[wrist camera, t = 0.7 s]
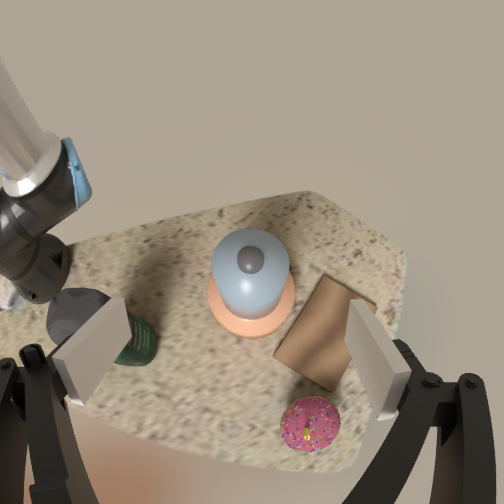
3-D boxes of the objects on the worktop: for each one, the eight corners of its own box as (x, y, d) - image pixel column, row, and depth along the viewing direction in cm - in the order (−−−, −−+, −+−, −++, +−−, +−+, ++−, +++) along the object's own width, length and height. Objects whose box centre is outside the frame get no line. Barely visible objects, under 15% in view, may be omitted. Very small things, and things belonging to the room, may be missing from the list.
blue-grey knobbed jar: (208, 297, 42) (194, 267, 32) (243, 251, 45) (240, 210, 35) (259, 331, 39) (261, 312, 29) (293, 282, 43) (305, 247, 33)
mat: (272, 357, 42) (273, 356, 42) (322, 277, 48) (324, 275, 47) (331, 391, 40) (332, 391, 39) (375, 309, 46) (377, 307, 45)
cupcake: (290, 453, 35) (302, 475, 25) (268, 408, 39) (274, 417, 28) (340, 430, 37) (368, 442, 26) (319, 385, 40) (341, 385, 30)
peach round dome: (196, 309, 46) (189, 300, 42) (241, 250, 51) (240, 236, 46) (262, 354, 43) (263, 350, 38) (305, 289, 47) (310, 278, 43)
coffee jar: (159, 321, 45) (109, 282, 28) (156, 368, 41) (101, 354, 25) (109, 319, 45) (46, 280, 28) (105, 363, 41) (36, 343, 25)
